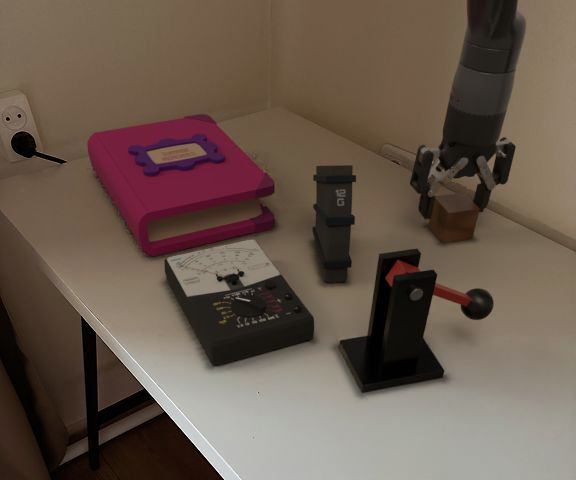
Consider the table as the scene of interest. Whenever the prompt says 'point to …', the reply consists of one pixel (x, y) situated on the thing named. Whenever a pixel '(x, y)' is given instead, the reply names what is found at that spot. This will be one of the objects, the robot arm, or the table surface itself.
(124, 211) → the book
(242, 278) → the multimeter
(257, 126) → the table surface
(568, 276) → the table surface
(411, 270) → the lever
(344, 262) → the magazine
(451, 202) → the block
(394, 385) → the bracket
